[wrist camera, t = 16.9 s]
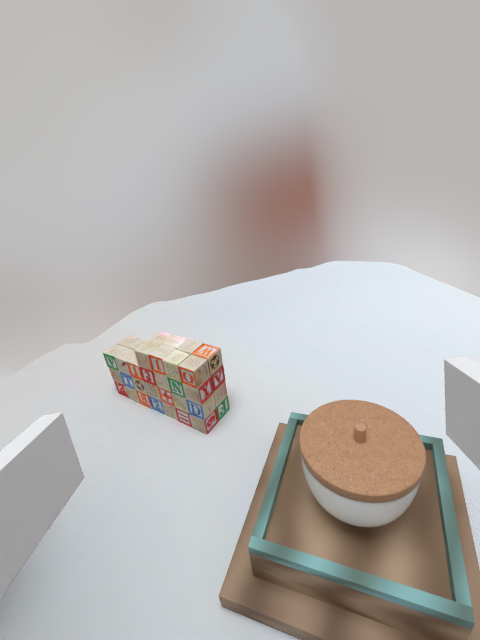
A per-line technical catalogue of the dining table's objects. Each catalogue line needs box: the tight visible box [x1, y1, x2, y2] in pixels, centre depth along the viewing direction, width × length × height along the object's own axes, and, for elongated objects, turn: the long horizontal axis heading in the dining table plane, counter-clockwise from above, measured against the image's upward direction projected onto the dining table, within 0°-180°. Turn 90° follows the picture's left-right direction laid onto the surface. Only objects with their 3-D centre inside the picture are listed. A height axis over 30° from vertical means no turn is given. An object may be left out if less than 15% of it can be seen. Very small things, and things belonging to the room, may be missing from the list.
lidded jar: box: [299, 400, 426, 527], centre depth 32 cm, size 11×11×9 cm
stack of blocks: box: [103, 332, 229, 434], centre depth 56 cm, size 21×6×12 cm, turn 57°
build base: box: [219, 412, 480, 640], centre depth 35 cm, size 22×22×7 cm
